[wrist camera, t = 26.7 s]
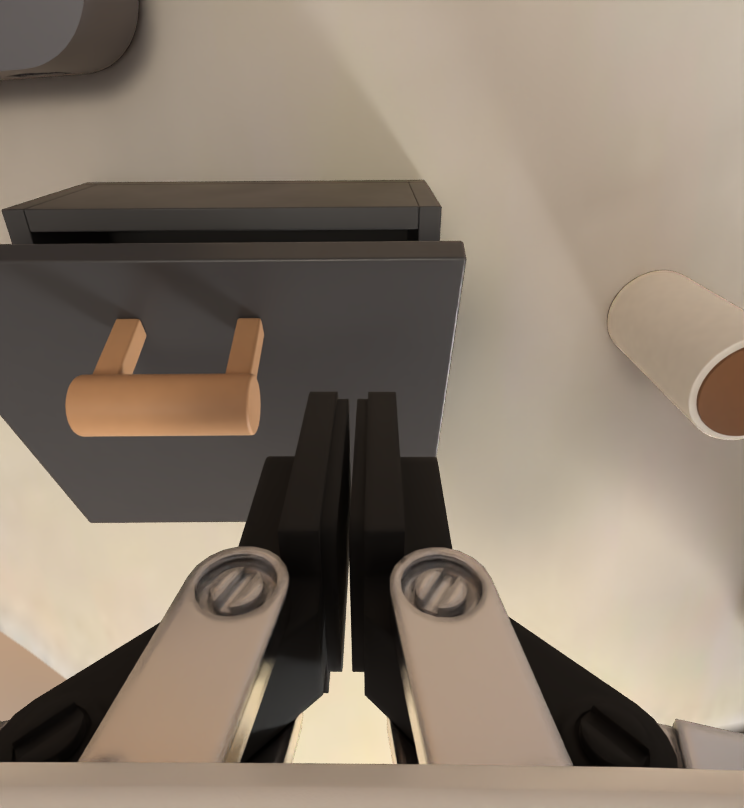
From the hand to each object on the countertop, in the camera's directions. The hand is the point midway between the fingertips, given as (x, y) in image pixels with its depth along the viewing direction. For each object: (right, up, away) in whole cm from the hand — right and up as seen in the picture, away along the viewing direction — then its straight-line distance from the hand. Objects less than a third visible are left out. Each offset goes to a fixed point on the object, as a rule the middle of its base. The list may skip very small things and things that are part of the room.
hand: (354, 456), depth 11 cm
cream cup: (+15, +6, +18) cm, 24 cm away
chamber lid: (-5, +1, +9) cm, 11 cm away
